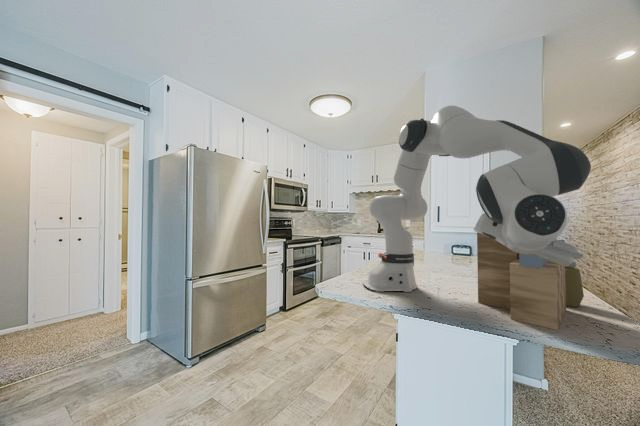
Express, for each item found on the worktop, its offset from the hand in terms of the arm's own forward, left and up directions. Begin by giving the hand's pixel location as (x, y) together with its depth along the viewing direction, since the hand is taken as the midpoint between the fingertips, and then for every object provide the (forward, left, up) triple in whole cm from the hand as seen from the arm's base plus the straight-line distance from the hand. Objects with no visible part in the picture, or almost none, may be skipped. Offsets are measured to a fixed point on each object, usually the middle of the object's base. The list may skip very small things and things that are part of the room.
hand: (516, 245), depth 69 cm
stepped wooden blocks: (+12, +13, -22) cm, 28 cm away
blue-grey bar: (+12, +6, -6) cm, 15 cm away
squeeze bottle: (+32, +14, -22) cm, 41 cm away
